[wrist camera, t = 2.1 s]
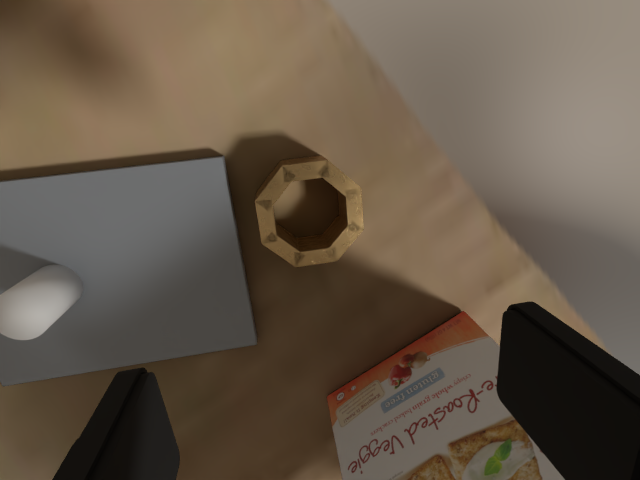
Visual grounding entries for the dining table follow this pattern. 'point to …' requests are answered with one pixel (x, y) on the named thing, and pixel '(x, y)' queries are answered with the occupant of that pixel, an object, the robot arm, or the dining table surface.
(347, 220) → the ring
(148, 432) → the robot arm
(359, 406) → the cracker box
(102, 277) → the base
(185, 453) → the dining table surface
